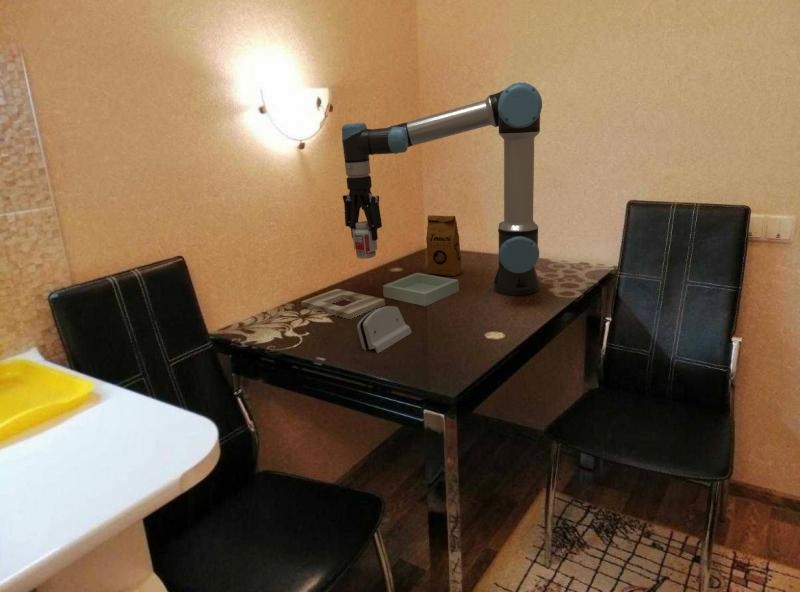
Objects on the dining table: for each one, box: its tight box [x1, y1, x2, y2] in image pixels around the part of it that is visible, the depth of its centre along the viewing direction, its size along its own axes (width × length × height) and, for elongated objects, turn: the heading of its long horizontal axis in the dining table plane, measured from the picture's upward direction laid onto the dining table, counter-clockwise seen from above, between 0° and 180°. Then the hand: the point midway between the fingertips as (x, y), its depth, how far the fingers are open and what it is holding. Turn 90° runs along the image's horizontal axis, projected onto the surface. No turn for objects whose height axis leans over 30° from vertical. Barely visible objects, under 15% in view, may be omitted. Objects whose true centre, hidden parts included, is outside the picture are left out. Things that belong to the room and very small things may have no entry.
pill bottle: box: [354, 220, 377, 260], centre depth 186 cm, size 6×6×11 cm
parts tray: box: [382, 272, 460, 307], centre depth 198 cm, size 18×18×4 cm
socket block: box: [301, 288, 386, 320], centre depth 190 cm, size 22×16×2 cm
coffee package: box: [425, 214, 462, 277], centre depth 217 cm, size 10×12×22 cm
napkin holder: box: [356, 305, 413, 354], centre depth 160 cm, size 17×5×10 cm, turn 146°
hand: (365, 249), depth 187 cm, fingers closed on pill bottle, 6 cm apart
